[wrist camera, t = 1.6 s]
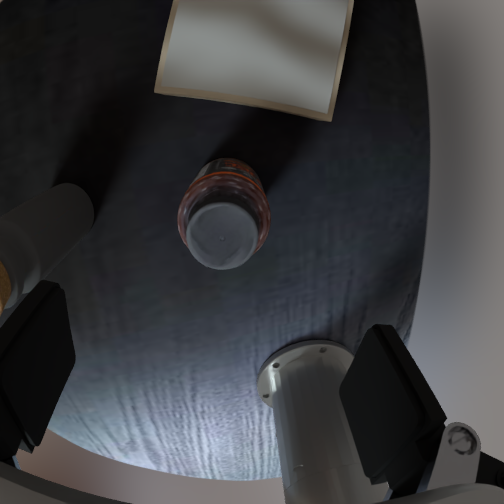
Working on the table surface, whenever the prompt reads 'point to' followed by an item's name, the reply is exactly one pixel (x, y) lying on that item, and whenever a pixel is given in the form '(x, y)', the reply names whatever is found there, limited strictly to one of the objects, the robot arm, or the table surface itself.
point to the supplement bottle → (224, 214)
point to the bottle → (40, 238)
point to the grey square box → (257, 53)
